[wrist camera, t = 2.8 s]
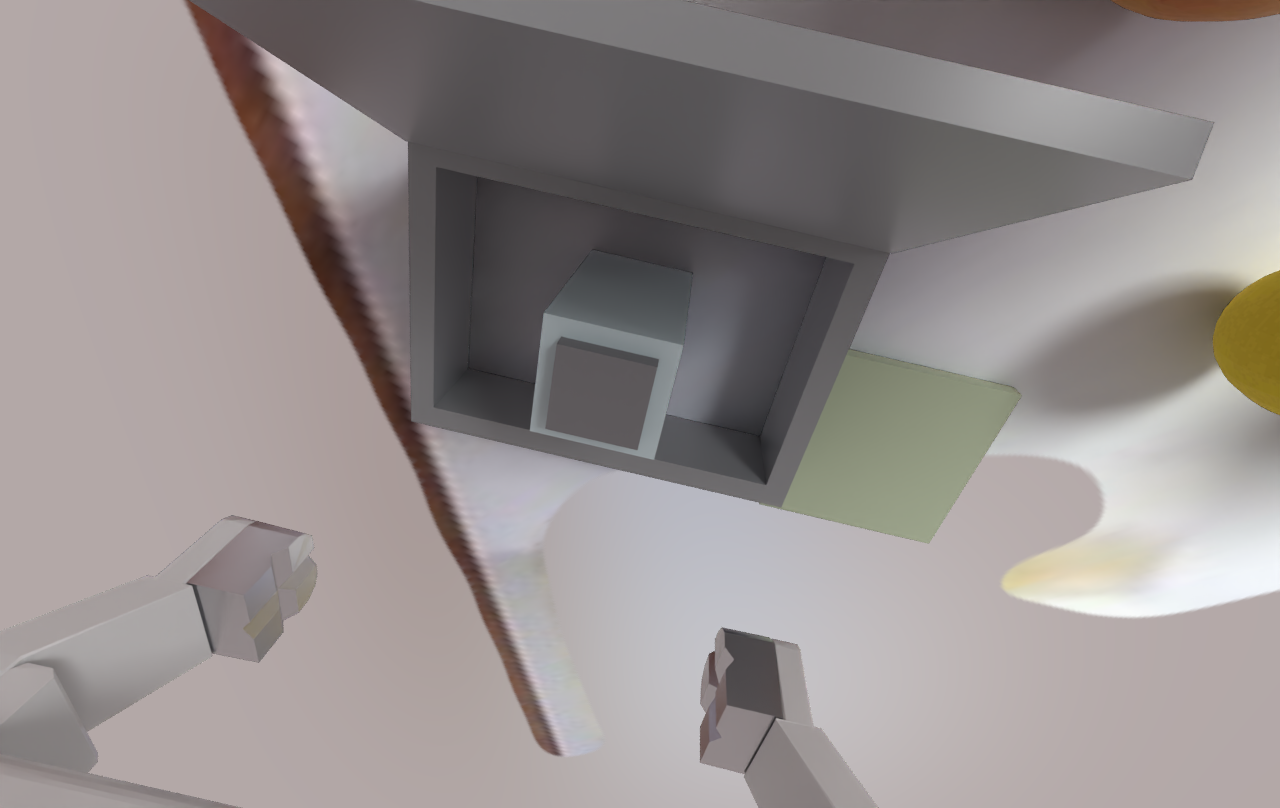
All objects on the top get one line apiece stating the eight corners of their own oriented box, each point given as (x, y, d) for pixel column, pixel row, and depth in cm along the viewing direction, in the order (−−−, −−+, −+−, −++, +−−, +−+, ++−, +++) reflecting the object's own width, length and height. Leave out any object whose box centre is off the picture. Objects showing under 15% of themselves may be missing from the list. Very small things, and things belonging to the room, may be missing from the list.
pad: (1013, 387, 25) (1022, 395, 24) (923, 533, 30) (928, 543, 29) (818, 341, 25) (821, 349, 24) (758, 494, 30) (759, 504, 29)
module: (692, 272, 24) (682, 353, 17) (670, 363, 27) (652, 469, 19) (592, 249, 24) (538, 319, 17) (578, 342, 27) (524, 440, 19)
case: (912, 103, 20) (1229, 123, 8) (773, 456, 28) (819, 747, 16) (458, -2, 20) (48, -149, 8) (448, 381, 29) (237, 609, 16)
